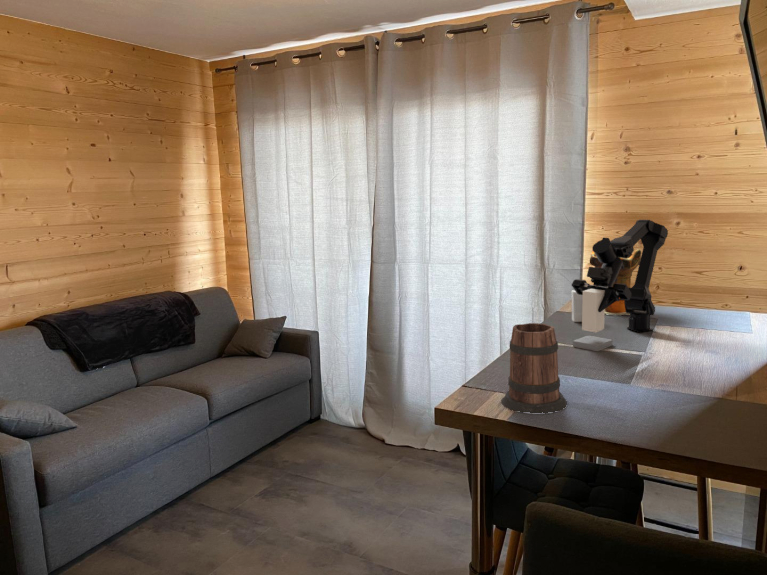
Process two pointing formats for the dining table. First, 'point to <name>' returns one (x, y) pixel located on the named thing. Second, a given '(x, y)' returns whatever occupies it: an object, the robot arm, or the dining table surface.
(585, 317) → the tall block
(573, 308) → the skincare box
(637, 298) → the robot arm
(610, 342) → the tower top
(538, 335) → the tankard
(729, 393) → the dining table surface
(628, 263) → the decorative vase
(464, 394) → the dining table surface
